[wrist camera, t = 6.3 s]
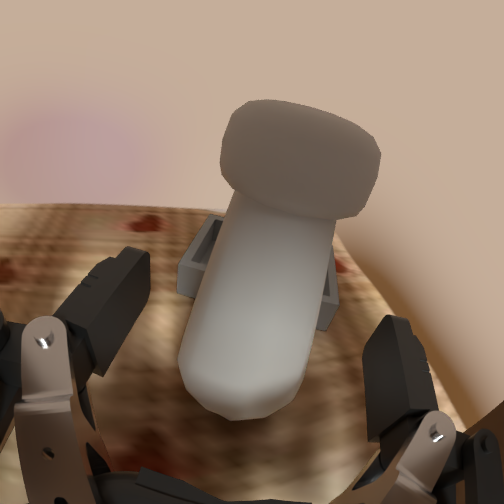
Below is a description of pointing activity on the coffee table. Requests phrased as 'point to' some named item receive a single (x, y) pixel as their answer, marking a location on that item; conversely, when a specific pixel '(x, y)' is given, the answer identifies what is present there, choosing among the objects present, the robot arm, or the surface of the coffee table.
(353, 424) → the coffee table surface
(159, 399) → the coffee table surface
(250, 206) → the salt shaker
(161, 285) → the coffee table surface
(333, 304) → the trap tray
